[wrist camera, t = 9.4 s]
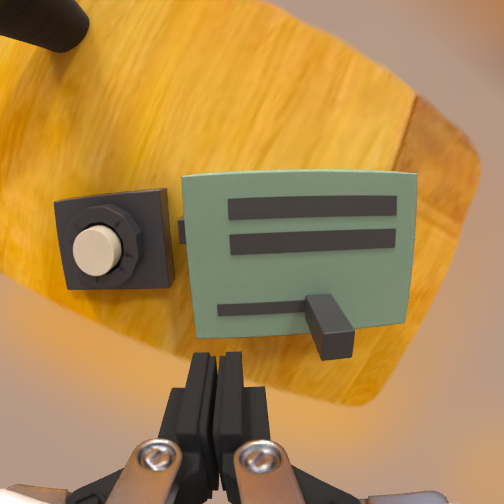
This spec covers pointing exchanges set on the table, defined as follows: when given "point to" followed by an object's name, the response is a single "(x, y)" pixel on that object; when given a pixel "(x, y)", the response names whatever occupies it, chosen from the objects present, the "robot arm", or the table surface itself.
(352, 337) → the slider
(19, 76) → the table surface
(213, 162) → the table surface
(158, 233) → the control block
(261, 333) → the toaster
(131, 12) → the table surface
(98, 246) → the button
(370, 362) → the table surface
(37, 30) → the drinking cup
